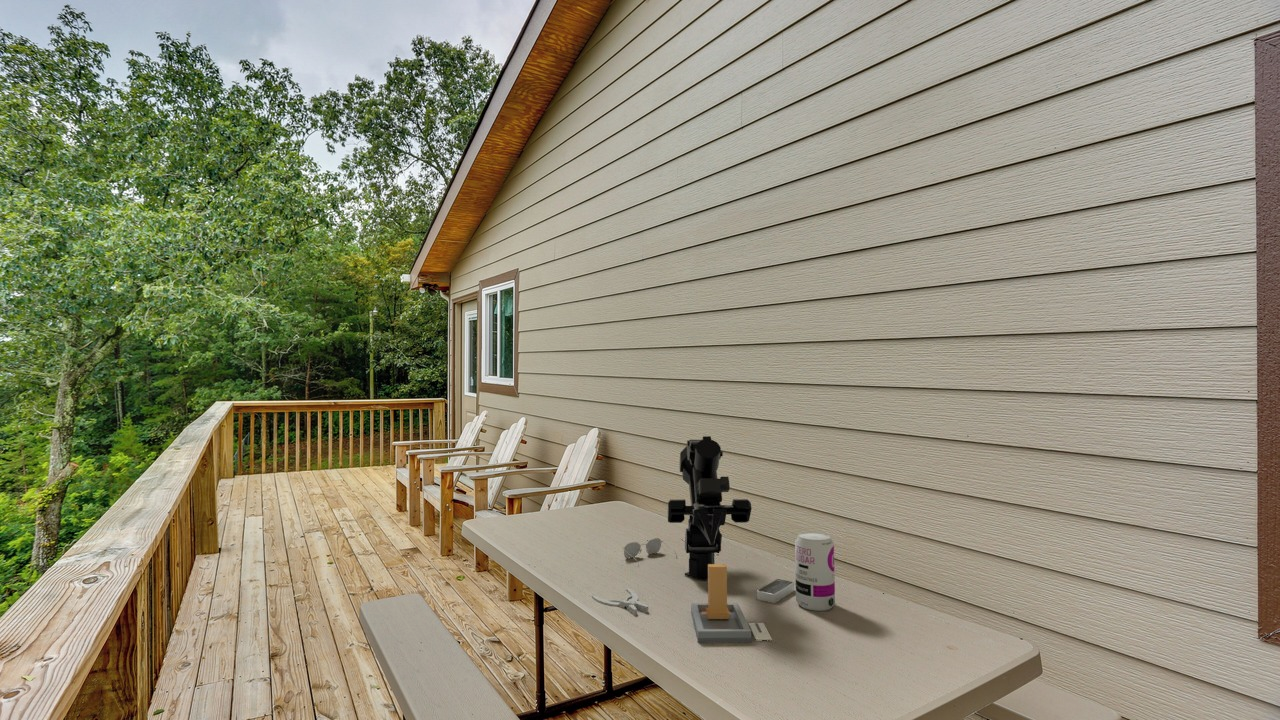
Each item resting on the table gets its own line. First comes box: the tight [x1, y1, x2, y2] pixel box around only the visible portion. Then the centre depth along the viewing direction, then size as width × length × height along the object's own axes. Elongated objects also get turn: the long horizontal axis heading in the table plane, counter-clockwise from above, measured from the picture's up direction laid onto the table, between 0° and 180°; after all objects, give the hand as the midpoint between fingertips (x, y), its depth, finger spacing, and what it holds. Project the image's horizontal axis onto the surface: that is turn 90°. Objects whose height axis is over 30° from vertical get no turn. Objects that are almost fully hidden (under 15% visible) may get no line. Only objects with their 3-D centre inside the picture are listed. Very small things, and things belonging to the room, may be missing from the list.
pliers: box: [591, 588, 649, 616], centre depth 135 cm, size 10×2×15 cm
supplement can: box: [794, 531, 836, 612], centre depth 134 cm, size 8×8×15 cm
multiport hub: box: [756, 578, 795, 604], centre depth 141 cm, size 4×11×2 cm, turn 142°
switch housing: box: [690, 602, 773, 643], centre depth 122 cm, size 15×14×2 cm
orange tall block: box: [706, 563, 730, 619], centre depth 124 cm, size 3×4×10 cm
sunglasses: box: [622, 537, 678, 567], centre depth 170 cm, size 14×8×5 cm, turn 124°
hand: (712, 544), depth 133 cm, fingers closed
